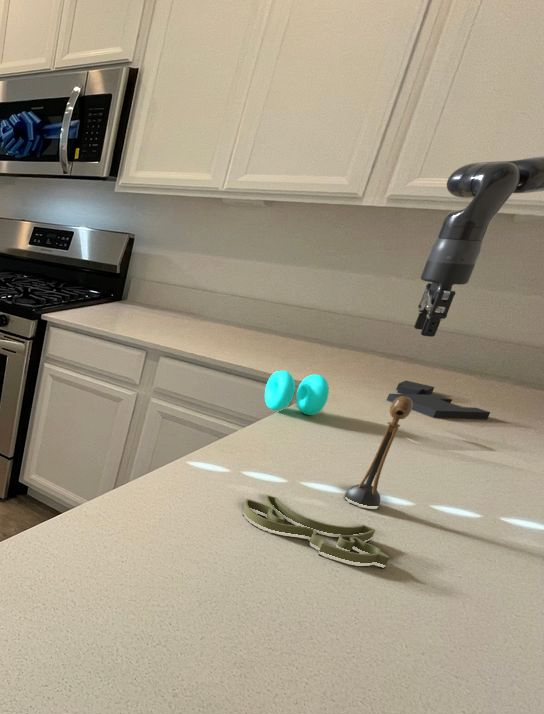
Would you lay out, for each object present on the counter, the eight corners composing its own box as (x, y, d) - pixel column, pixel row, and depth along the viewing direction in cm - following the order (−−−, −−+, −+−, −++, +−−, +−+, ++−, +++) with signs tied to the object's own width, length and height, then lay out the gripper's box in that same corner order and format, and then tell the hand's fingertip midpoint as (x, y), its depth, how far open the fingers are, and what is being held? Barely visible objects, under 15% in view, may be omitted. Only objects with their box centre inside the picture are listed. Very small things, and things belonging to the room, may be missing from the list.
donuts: (321, 421, 139) (336, 382, 136) (272, 414, 142) (286, 376, 139) (304, 407, 148) (317, 370, 145) (258, 401, 151) (270, 365, 148)
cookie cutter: (386, 544, 90) (391, 533, 89) (383, 578, 82) (388, 566, 81) (249, 499, 102) (252, 489, 101) (234, 525, 93) (237, 514, 93)
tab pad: (400, 392, 165) (405, 380, 164) (429, 398, 160) (434, 386, 159) (389, 396, 160) (394, 384, 159) (418, 404, 155) (424, 391, 154)
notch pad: (434, 407, 153) (439, 395, 152) (484, 425, 142) (490, 412, 141) (383, 406, 153) (389, 393, 151) (430, 424, 141) (436, 410, 140)
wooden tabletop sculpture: (375, 515, 99) (423, 405, 92) (340, 503, 102) (384, 396, 95) (379, 503, 102) (425, 397, 95) (345, 493, 105) (388, 389, 98)
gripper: (484, 265, 120) (453, 341, 126) (467, 259, 131) (439, 329, 137) (434, 261, 124) (406, 335, 130) (422, 256, 135) (396, 324, 141)
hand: (423, 332), depth 133 cm, fingers open, 8 cm apart
